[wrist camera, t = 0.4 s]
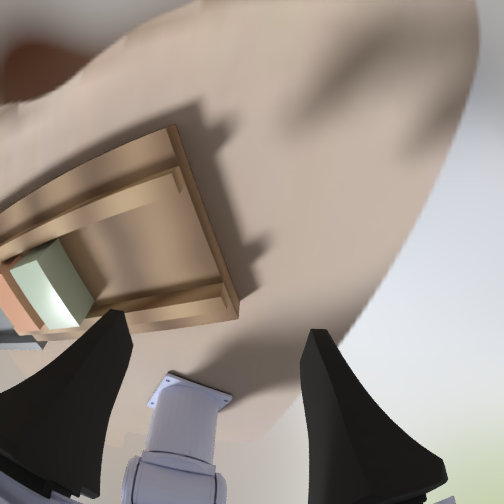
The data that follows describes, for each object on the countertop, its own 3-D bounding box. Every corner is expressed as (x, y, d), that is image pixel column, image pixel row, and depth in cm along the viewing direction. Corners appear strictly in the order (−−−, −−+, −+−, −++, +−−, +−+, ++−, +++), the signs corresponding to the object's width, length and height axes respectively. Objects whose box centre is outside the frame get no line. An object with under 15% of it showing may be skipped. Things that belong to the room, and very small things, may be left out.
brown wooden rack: (175, 123, 16) (156, 131, 13) (239, 301, 23) (237, 333, 20) (-19, 226, 20) (-39, 243, 17) (44, 329, 27) (31, 350, 24)
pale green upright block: (58, 238, 18) (36, 259, 15) (94, 300, 21) (79, 326, 18) (29, 249, 19) (9, 270, 16) (64, 306, 22) (49, 329, 19)
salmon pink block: (20, 253, 19) (1, 273, 16) (54, 308, 22) (40, 330, 19) (1, 262, 19) (-17, 281, 17) (32, 312, 22) (18, 332, 20)
